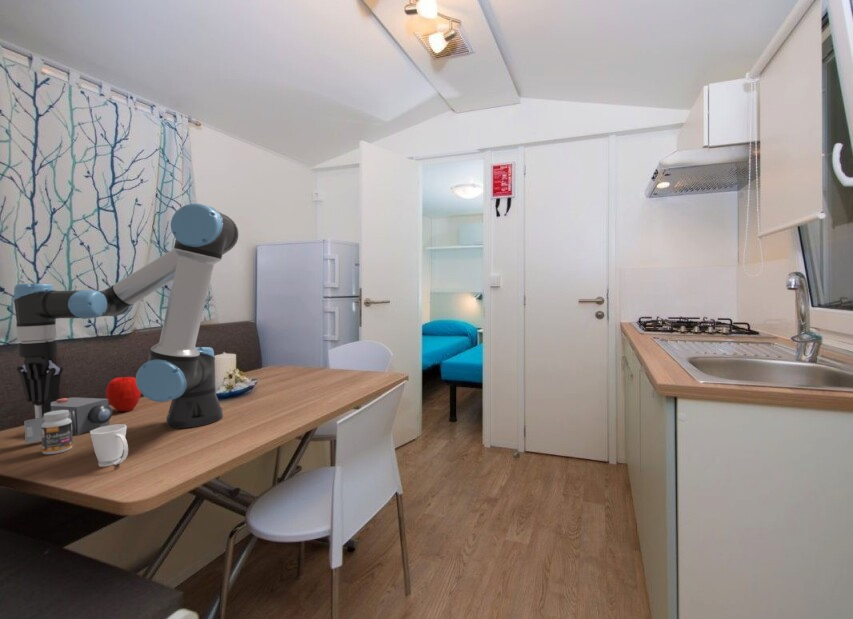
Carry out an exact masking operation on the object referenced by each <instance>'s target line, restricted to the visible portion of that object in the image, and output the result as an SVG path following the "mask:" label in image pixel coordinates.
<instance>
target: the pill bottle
mask: <svg viewBox="0 0 853 619" xmlns="http://www.w3.org/2000/svg"><path fill="white" fill-rule="evenodd" d="M68 416H69V410H57V411H52V412H48V413H45V414H44V420H45V422H44V423H43V424H42V426H41V432H42V440H41V448H42V449H41V451H42V452H41V453H42V454H44V455H56V454H61V453H64V452H67V451H69V450H71V449H72V448H73V447H74V445H73V444H74V442H73V441H74V440H73V439H74V438H73V435H72V420H71V419H69V418H68Z"/></svg>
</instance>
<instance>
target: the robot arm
mask: <svg viewBox="0 0 853 619" xmlns="http://www.w3.org/2000/svg"><path fill="white" fill-rule="evenodd" d="M170 230H171V233H172V234H173V238H175V241H174V245H173V248H172V249H171V250H169V251H168V252H166V253H164V254H163V255H161V256H159V257H157V258H156V259H154V260H152V261H151V262H149V263H147V264H145V265H144V266H142V267H141V268H138V270H136V271H133V273H131V274H128V275H127V276H126V277H124V278H122V279H120V280H119V281H117V282H116V283H114V284H113V285H111V286H109V287H107V288H105V289H103V290H92V289H81V290H79V289H78V290H55V288H54V285H53V284H51V283H17V284H16V285H15V286H14V288H13V289H14V290H13V304H14V310H15V311H14V312H15V321H16V324H15V325H16V326H15V327H16V341H17V342H20V343H18V344H17V352H18V357H19V358H23V359H24V360H23V365H21V366H17V367H16V371H17V373H18V374H19V378H20V380H21V385H22V388H23V392H24V396H25V400H26V402H31V404H32V405H33V410H34V417H35V418H34V419H36V418H41V417H44V414H45V413H48V412H51V402H54V401H57V399H58V397H59V389H60V383H61V376H62V373H63V371H64V368H63V366H57V365H56V361H55V358H54V355H56V354H58V352H59V351H58V350H59V348H58V347H59V346H58V341H57V340H56V339H57V328H56V322H57V320H56V319H83V320H84V319H95V318H97V319H98V318H101V317H119V316H121V315H125V314H127V313H128V312H130V310H131V309H132V307H133V305H135V304H136V303H138V302H140V301H142V299H144V298H146V297H148V296H150V295H151V294H152V293H154V292H156V291H158V290H159V289H161V288H162V287H164V286H166V285H167V284H170V283H171V282H172V285H171V289H170V293H169V298H168V303H167V307H166V310H165V311H166V312H165V315H164V321H163V325H162V328H161V333H160V337H159V342H158V343H156V344H154V345H153V346H151V348H150V350H149V351H150V352H149V354H148V360H147V361H146V362H144V364H142V365H141V366H140V367H139V368H138V370H137V372H136V374H135V378H136V385H137V388H138V390H139V391H140V392H141V395H142V396H143V397H144V398H146V399H147V400H150V401H153V402H157V403H159V402H160V403H165V402H170V401H171V402H170V407H169V410H168V414H167V415H166V426H167V427H169V428H173V429H174V428H175V429H185V428H195V427H201V426H205V425H209V424H211V423H214V422H217V421H219V420H221V419H222V418H223V416H224V413H223V412H224V411H223V408H222V406H221V405H220V404H221V403H220V401H219V399H218V396H217V391H216V364H215V363H216V362H215V361H216V360H215V359H216V357H215V351H214V349H213V347H211V346H209V347H207V346H201V347H200V346H199V347H198V346H196V345H197V340H198V335H199V331H200V327H201V322H202V319H203V318H202V317H203V313H204V309H205V306H206V300H207V295H208V292H209V289H210V288H209V287H210V284H211V283H210V282H211V279H212V274H213V270H214V265H216V264H217V263H219V262H220V261H221V260H222V257H223V255H225V254H226V253H228V252H230V251H231V250H232V249H233V248H234V247H236V246H235V245H236V244H237V243H238V239H239V229H238V226H237V224H236V223H235V221H234V220H233V219H232V218H230V217H229V215H228V216H227V215H226V214H223V213H222V212H220V211H219V210H217V209H215V208H214V207H212V206H208V205H206V204H202V203H189V204H188V203H187V204H186V205H183V206H182V207H181V206H180V207H179V208H178V209H177V210H176V211H175V212H174V213H173V216H172V217H171V220H170Z"/></svg>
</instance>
